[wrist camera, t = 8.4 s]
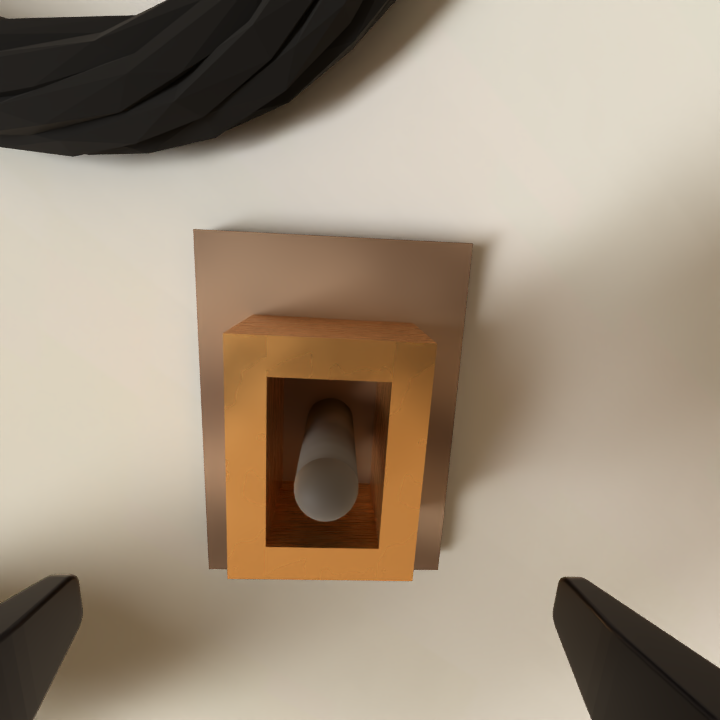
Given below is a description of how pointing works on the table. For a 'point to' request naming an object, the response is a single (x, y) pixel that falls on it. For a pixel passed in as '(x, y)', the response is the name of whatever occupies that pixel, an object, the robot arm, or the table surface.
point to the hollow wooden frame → (265, 448)
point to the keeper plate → (321, 396)
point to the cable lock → (165, 70)
